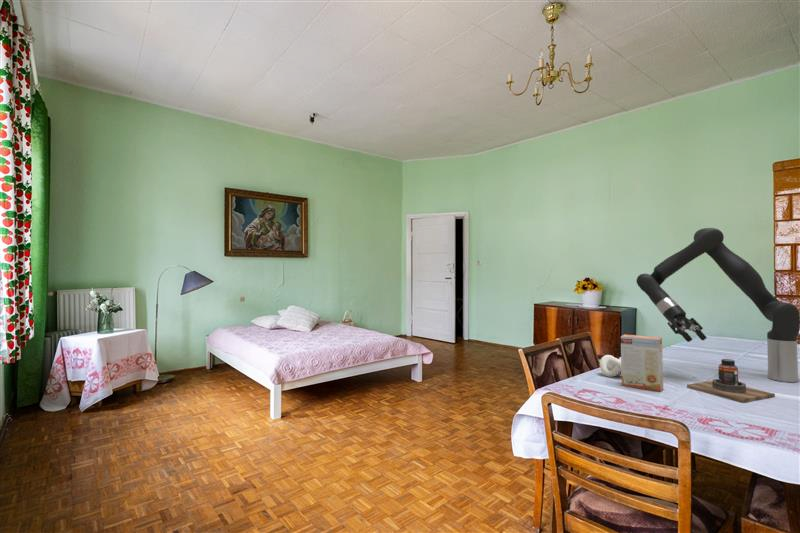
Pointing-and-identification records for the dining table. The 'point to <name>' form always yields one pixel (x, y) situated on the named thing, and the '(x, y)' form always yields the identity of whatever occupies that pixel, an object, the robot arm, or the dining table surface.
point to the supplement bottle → (728, 372)
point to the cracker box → (642, 362)
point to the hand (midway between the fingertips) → (697, 340)
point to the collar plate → (730, 395)
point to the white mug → (610, 366)
